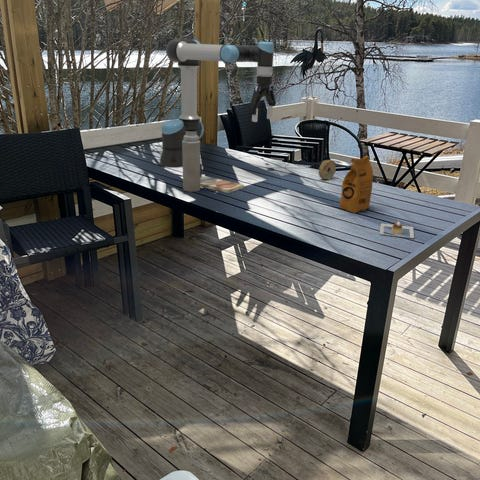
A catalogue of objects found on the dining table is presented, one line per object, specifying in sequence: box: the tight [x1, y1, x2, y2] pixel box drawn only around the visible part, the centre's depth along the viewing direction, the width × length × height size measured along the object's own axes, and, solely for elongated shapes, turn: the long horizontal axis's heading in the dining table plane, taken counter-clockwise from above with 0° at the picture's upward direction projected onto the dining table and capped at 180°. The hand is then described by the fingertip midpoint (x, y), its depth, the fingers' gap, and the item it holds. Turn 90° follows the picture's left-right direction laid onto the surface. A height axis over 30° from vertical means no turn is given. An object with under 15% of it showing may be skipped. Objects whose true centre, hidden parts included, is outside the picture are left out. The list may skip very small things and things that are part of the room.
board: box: [200, 175, 245, 194], centre depth 236 cm, size 24×12×2 cm, turn 54°
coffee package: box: [339, 155, 374, 214], centre depth 206 cm, size 10×12×22 cm
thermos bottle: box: [182, 128, 201, 193], centre depth 225 cm, size 8×8×28 cm
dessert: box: [379, 221, 415, 239], centre depth 184 cm, size 12×12×5 cm
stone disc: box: [318, 159, 337, 180], centre depth 252 cm, size 10×4×10 cm, turn 128°
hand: (262, 120), depth 248 cm, fingers open, 13 cm apart
